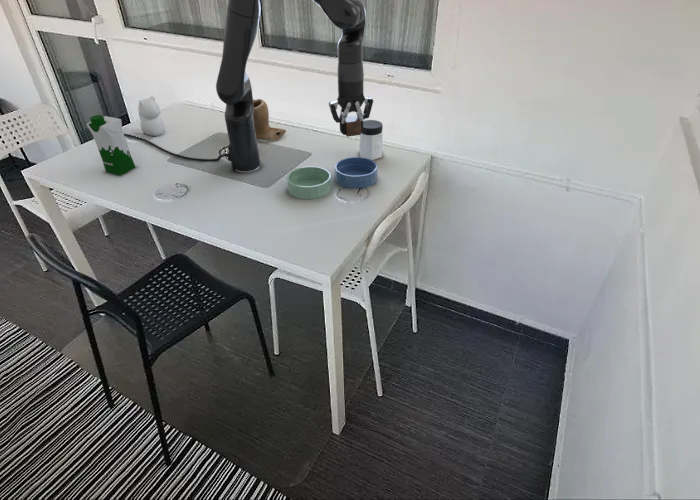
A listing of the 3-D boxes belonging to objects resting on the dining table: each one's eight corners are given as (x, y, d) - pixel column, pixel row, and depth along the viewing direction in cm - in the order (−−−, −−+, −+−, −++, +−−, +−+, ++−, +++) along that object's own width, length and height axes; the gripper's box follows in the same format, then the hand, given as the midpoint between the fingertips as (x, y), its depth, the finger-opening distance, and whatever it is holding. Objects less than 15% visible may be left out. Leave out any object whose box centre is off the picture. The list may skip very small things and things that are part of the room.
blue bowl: (334, 190, 148) (333, 176, 145) (336, 170, 159) (336, 157, 156) (377, 190, 147) (377, 176, 144) (376, 170, 158) (376, 157, 155)
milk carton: (102, 173, 160) (80, 117, 147) (122, 162, 166) (103, 108, 154) (120, 177, 157) (100, 121, 144) (140, 166, 163) (122, 112, 151)
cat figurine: (154, 140, 182) (143, 103, 173) (134, 133, 187) (123, 97, 178) (172, 132, 188) (162, 96, 179) (152, 126, 193) (142, 91, 184)
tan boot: (239, 140, 180) (232, 103, 171) (255, 129, 189) (250, 93, 180) (272, 146, 175) (267, 108, 166) (287, 135, 184) (283, 98, 175)
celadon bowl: (285, 200, 143) (283, 186, 140) (291, 179, 154) (290, 166, 151) (329, 201, 142) (329, 187, 139) (332, 179, 153) (332, 166, 150)
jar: (367, 162, 163) (367, 130, 156) (354, 154, 169) (354, 123, 161) (386, 156, 167) (388, 124, 160) (374, 148, 173) (374, 117, 165)
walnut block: (347, 136, 140) (346, 122, 137) (342, 131, 143) (342, 117, 141) (361, 134, 141) (360, 120, 138) (356, 129, 144) (356, 115, 142)
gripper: (369, 71, 136) (368, 125, 147) (323, 76, 133) (326, 131, 143) (378, 77, 131) (377, 134, 141) (330, 83, 127) (333, 140, 138)
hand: (351, 132), depth 142 cm, fingers closed on walnut block, 4 cm apart
